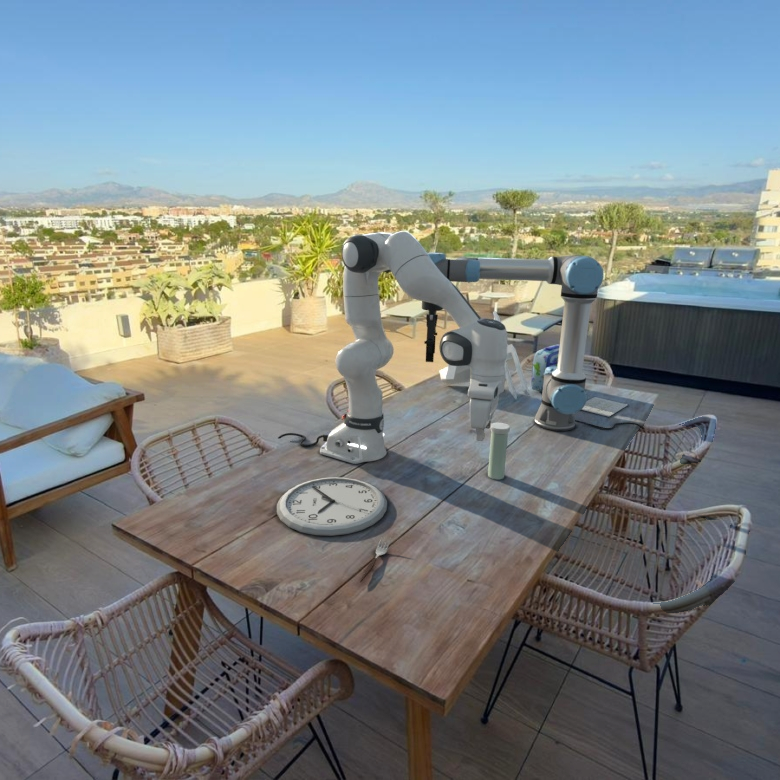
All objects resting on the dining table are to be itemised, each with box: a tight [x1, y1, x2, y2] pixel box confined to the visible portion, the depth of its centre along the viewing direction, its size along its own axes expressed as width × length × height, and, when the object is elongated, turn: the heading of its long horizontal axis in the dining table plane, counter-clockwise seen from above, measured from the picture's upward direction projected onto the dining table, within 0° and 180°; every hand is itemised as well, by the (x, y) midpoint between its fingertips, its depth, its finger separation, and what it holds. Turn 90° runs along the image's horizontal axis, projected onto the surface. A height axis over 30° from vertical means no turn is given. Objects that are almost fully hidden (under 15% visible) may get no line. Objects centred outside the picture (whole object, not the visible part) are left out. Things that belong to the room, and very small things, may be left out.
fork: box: [359, 536, 392, 583], centre depth 118 cm, size 3×16×2 cm, turn 160°
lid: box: [489, 422, 511, 434], centre depth 157 cm, size 6×6×2 cm
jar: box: [487, 431, 509, 481], centre depth 159 cm, size 5×5×16 cm
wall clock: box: [276, 476, 388, 537], centre depth 142 cm, size 30×2×30 cm
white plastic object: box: [438, 310, 531, 400], centre depth 245 cm, size 37×45×31 cm
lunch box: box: [530, 344, 560, 393], centre depth 247 cm, size 26×11×21 cm, turn 134°
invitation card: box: [580, 396, 629, 418], centre depth 226 cm, size 21×1×15 cm
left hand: (483, 433), depth 138 cm, fingers open, 8 cm apart
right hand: (430, 357), depth 190 cm, fingers open, 13 cm apart
